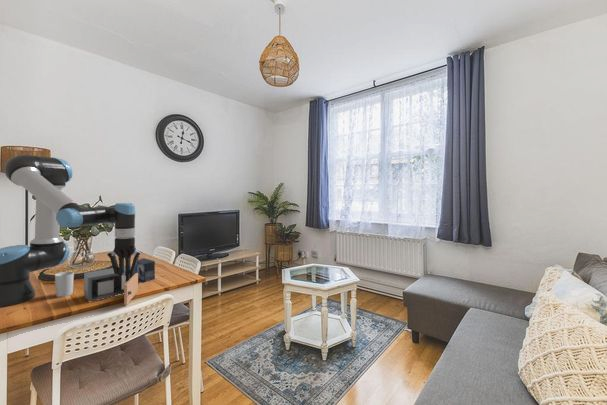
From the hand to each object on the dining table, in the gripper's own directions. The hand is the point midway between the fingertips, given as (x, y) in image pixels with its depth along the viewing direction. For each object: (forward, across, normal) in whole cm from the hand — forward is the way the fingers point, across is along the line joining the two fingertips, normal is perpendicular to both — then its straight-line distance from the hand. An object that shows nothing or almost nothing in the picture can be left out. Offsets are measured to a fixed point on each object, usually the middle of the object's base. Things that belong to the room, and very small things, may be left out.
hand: (124, 288), depth 118 cm
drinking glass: (+6, -29, +12) cm, 32 cm away
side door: (+5, +3, +1) cm, 6 cm away
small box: (+6, -1, +29) cm, 30 cm away
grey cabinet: (+6, -9, +9) cm, 14 cm away
